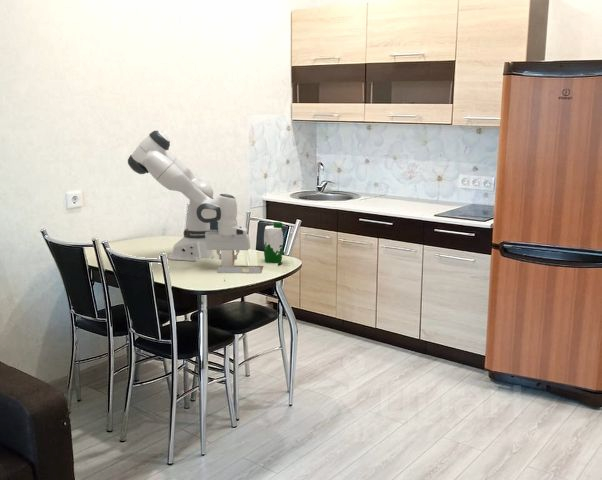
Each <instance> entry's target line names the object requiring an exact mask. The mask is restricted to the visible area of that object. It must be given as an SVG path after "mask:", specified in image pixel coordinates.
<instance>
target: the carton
mask: <svg viewBox="0 0 602 480" xmlns="http://www.w3.org/2000/svg"><path fill="white" fill-rule="evenodd" d="M220 254H221V259H220V261H221V264H220V265H222V267H234V265H235V261H236V260H234V255H235V250H220Z"/></svg>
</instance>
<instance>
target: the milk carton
mask: <svg viewBox="0 0 602 480" xmlns="http://www.w3.org/2000/svg"><path fill="white" fill-rule="evenodd" d="M283 233H284V232H283V223H282V222H281V221H280V222H279V221H277V222H273V225H266V226H265V227H264V232H263V258H264V263H266V264H267V263H268V264H277V266H281V264H282V260H283V259H282V258H283V253H284V249H283V248H284V235H283Z"/></svg>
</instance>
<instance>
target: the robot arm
mask: <svg viewBox="0 0 602 480" xmlns="http://www.w3.org/2000/svg"><path fill="white" fill-rule="evenodd" d="M170 142H171V141H170V139H169V137H168V136H167V135H166V134H165V133H164V132H161V131H160V130H153V131H151V132H150V133H149V134H148V136H146V137H145V138H144V139H143V140H142V141H141V142H140V143H139V144H138V146H137V147H136V148H135V150H134V151H133V152H132V154H130V156H128V158H127V164H128V166H129V168H130V169H131V170H132V171H133V172H134V173H136V174H138V175H145V174H150V175H151V176H152V177H153V178H154V179H155V181H157V182H158V183H159V184H160V185H161V186H163V187H164V188H165V189H167V190H169V191H175V192H179V193H181V194H183V195H184V196H185V197H186V198H187V199H188V200H189V205H188V211H187V214H186V217H187V221H186V222H187V223H186V224H187V228H185V229H183V237H182V238H180V239H179V240H178V241H177V242H176V243H175V244H173V247H172V252H171V253H169V254H168V257H167V258H168V260H172V261H173V260H174V261H188V262H189V261H190V262H191V261H192V262H196V261H197V260H199V259H212V258H214V257H215V255H214V252H213V251H216V254H217V256H218V259H219V260H221V250H234V251H235V253H236V254H234V260H235V261H236V260H237V259H238V255H239V253H240V251H249V250H250V248H251V242H250V236H249V234H248V228H247V227H244V226H241V225H238V221H237V216H238V205H237V204H238V203H237V199H236V197H235V196H234V195H231V194H228V193H220V194H218V196H215V197H214V190H213V187H212V186H211V185H210V183H208V182H207V181H204V180H201V179H200V178H199V177H198V176H196V174H194V172H193V171H192V170H191V169H189V167H188V166H187V165H186V164H184V163H183V162H182V161H181V160H180V159H179V158H178V157H176V156H175V155H174V154H173V153H172V152H171V151H169V150H170V146H171V143H170ZM214 222H215V223H216V222H217V229H211V223H214Z"/></svg>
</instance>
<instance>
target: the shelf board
mask: <svg viewBox="0 0 602 480" xmlns="http://www.w3.org/2000/svg"><path fill="white" fill-rule="evenodd" d="M219 267H222V264H220V266H219ZM234 267H260V273H259V274H262V272H263V270H264V265H235V264H234ZM216 273H217V274H219V273H218V270H217V272H216Z"/></svg>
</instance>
